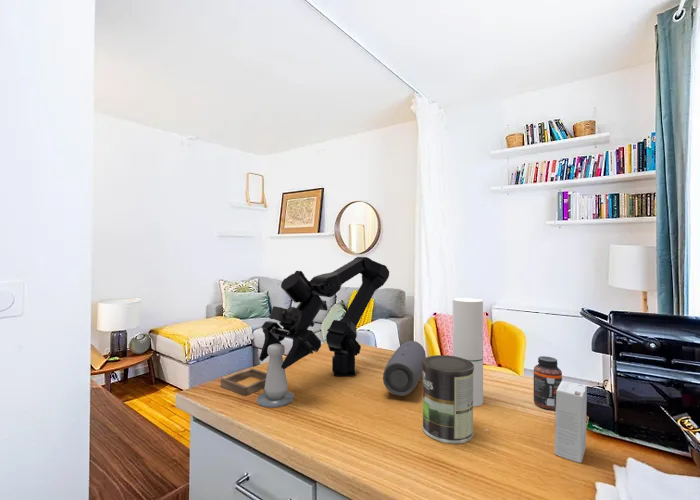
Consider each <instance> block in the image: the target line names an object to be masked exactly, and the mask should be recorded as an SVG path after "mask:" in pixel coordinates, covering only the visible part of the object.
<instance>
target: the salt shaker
mask: <svg viewBox="0 0 700 500" xmlns="http://www.w3.org/2000/svg"><path fill="white" fill-rule="evenodd" d="M285 347H286V346H285V345H284V344H283V343H281V344H272V345H269V346H268V350H267V353H268V355H269V356H268V357H269V358H268V365H267V371H266V373H267V375H266V381H265V388H263V389H264V390H263V391H264V392H265V393H266V395H267V398H269V399H271V400H279V399H281V398H283V397H284V396H285V394H286V391H288V386H289V385H288V379H287V374H286V369H283V368H281V366H282V364H283V362H284V358H283V355H284V354H285V353H286V352H285V349H286V348H285Z"/></svg>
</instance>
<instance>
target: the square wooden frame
mask: <svg viewBox="0 0 700 500" xmlns="http://www.w3.org/2000/svg"><path fill="white" fill-rule="evenodd" d="M266 375H267V372H265V371H261V370H258V369H255V368H250V369H245V370H243V371H240V372H238V373H234V374H231V375H229V376H226V377H223V378H220V387H221V388H223V389H227V390H229V391H232V392H234V393H237V394H239V395H242V396H244V397H246V396H248V395H251V394H253V393H255V392H258V391H260V390H262V389H264V388H265V381H266ZM251 377H252V378H256V379H257V380H258V381H256V382H253V383H251V384H248V385H242V384H240V383H237V382H240V381H242V380H243V381H244V380H245V379H249V378H251Z"/></svg>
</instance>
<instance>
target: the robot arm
mask: <svg viewBox="0 0 700 500" xmlns="http://www.w3.org/2000/svg"><path fill="white" fill-rule="evenodd" d="M359 274H360V275H361V285H360V286H359V288H358V290H357V291H356V294H355V295H354V296H353V299H352V300H351V303H350V304H349V306H348V307H347V310H346V312H345V313H344V315H343V317H342V318H340V320H338V319H333V321H332V322H331V323H330V327H329V328H328V329H327V333H326V336H325V338H326V343H327V344H326V345H327V347H328V349H329V350H328V351H330V352H333V354H334V355H332V356H331V358H332V361H331V363H332V365H331V366H332V367H331V368H332V369H331V371H332V373H333V376H334V377H343V376H345V377H346V376H351V377H352V376H357V375H356V374H357V373H356V357H357V356H358V355H359V354H360V353H361V349H362V348H361V347H362V346H361V344H360V343H359V342H358V341H357V339H356V338H357V337H358V332H357V331H358V330H357V326H358V324H359V323H360V320H361V319H362V316H363V315H364V313H365V311H366V309H367V307H368V305H369V303H370V301H371V299H372V298H373V296H374V294H375V292H376V291H377V290H378V289H379V288H382V287H383V286H384V285H385V284H386V282H387V281H388V279H389V277H390V271H389V268H388V267H387V265H385V264H383V263H380V262H377V261H375V260H372V259H371V258H370V257H367V256H356V257H354V258H353V260H351V261H349V262H347V263H346V264H343V265H342V266H341V267H339V268H337V269H335V270H334V271H332V272H327V273H322V274H318V275H314V276H313V277H312V278H311V279H310V280H309V279H308V278H307V277H306V275H305V274H304V273H303V271H302V270H296V271H294V273H292V274H290V275H288V276H287V277H286V278H285V277H284V278H283V280H282V281H281V284H280V288H281V289H282V290H283V291H284V293H286V295H287V296H288V297H289V298H290V300H292V302H294V303H295V304H298V305H297V307H295V306H289V307H288V308H286V307H285V308H284V307H280V306H274V305H273V306H272V308H271V311H270V313H269V317H268V319H270V320H267V321H264V323H263V324H262V326H261V327H260V328H261V330H262V332H263V335H264V341H263V345H262V348H261V351H260V354H259V358H258V359H259V360H260V361H261V362H263V361H264V360H265V359H267V358H268V357H270V355H268V353H267V350H268V346H269V345H272V344H282V341H284V340H285V339H289V340H292V346H291V348H290V350H289V351H288V353H287V355H285V358H284V359H283V364H282V366H281V368H283V369H285V370H286V369H288V368H289V367H290V366H292V365H293V364H295V363H296V362H298V361H299V360H301V359H303V358H305V357H307V356H308V355H310V354H311V355H313V354H314V353H318V352H319V350H320V348H321V347H322V340H321V339H320V338H319V337H318V336H317V334H316V333H315V332H314V331H313V330H310V329H309V327H311V328H314V327H315V322H313V321H314V319H315V318H316V317H317V315H319V314H318V313H319V312H320V311H326V312H327V311H328V305H327V304H328V303H327V300H324V299H322V298H321V297H324V298H332V297H334V296H335V295H336V294H337V293H338V292H339V291H340V290H341V287H342V286H343V284H345V283H346V282H348V281H350V280H351V279H353V278H354V277H356V276H357V275H359ZM272 320H275V321H276V322H275V321H272ZM277 321H278V322H279V323H277Z"/></svg>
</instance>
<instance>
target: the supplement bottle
mask: <svg viewBox="0 0 700 500" xmlns="http://www.w3.org/2000/svg"><path fill="white" fill-rule="evenodd" d="M537 362H538V363H537V364H536V365H534V367H533V402H534V404H535V405H536V406H537V407H540V408H542V409H546V410H550V411H556V390H557V389H558V387H559V385H560V383H561V381H563V372H562V370H561V369H560V368H559V367H558V364H559V363H558V359H557V358H555V357H553V356H552V357H551V356H546V355H545V356H544V355H543V356H542V355H540V356H538V357H537Z"/></svg>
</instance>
